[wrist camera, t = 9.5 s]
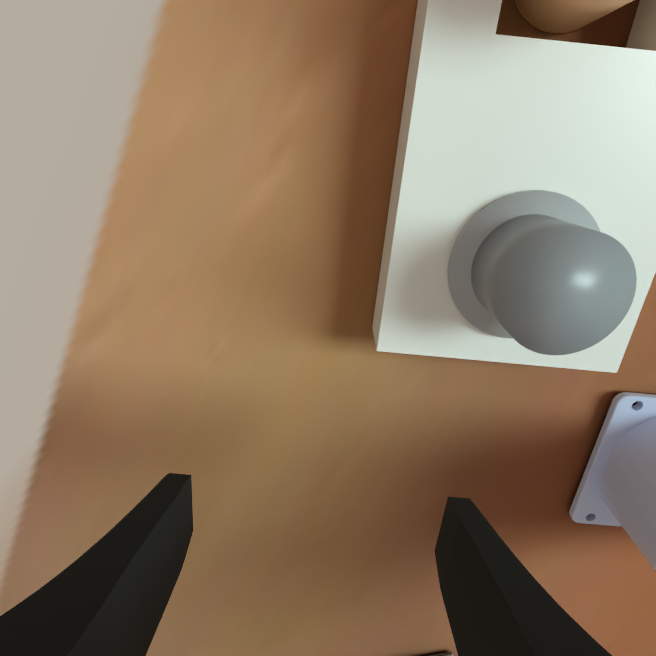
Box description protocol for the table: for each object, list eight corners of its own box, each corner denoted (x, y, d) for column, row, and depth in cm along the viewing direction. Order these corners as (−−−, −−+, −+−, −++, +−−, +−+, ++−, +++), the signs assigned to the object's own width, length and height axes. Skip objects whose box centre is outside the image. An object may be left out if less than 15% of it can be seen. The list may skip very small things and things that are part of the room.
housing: (764, -175, 14) (1058, -398, 8) (585, 347, 20) (678, 421, 15) (447, -211, 13) (525, -464, 8) (372, 328, 20) (385, 395, 15)
